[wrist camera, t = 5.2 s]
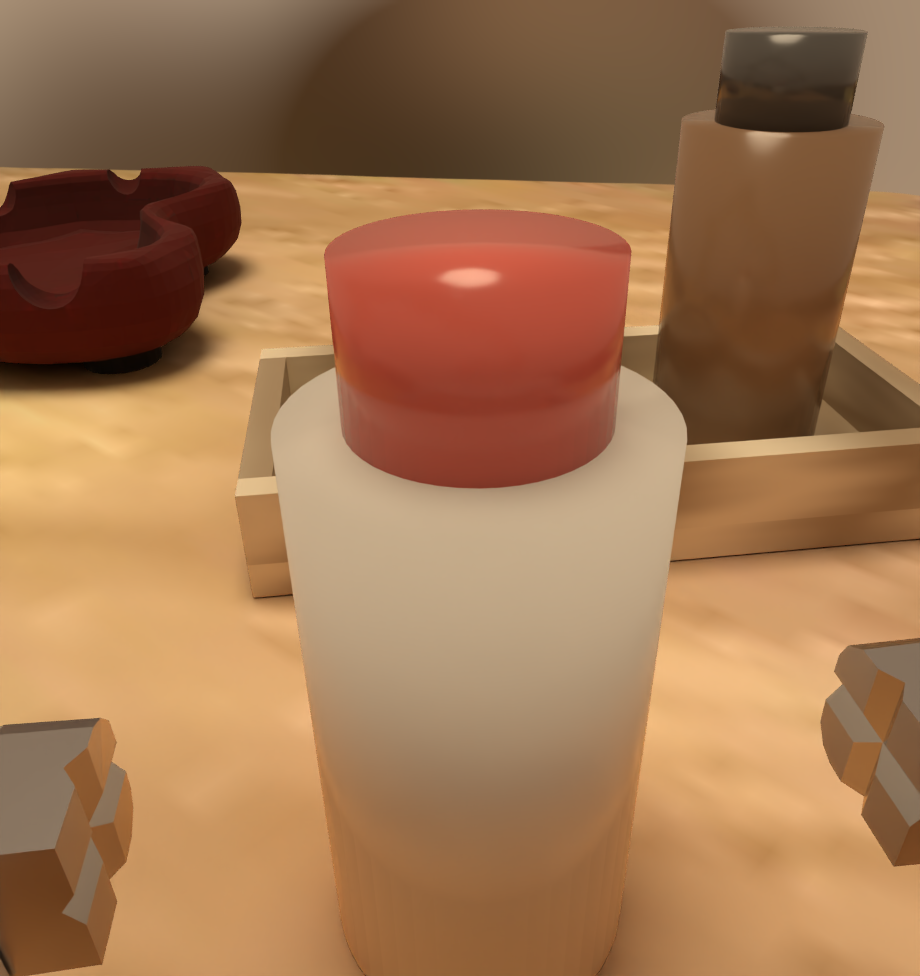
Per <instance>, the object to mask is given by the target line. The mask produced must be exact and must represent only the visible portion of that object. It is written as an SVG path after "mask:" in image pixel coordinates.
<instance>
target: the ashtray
mask: <svg viewBox="0 0 920 976" xmlns="http://www.w3.org/2000/svg"><path fill="white" fill-rule="evenodd" d="M240 227H241V211H240V204H239V200H238V197H237V193H236V190H235V188H234V187H233V185H232V183H231V182H230V181H229V180H227V179H225V178H223V177H222V176H221V175H220V174H219V173H217V172H216V171H214V170H212V169H211V168H209V167H203V166H186V167H167V168H149V169H148V168H146V169H141V173H140V175H139V176H138V177H137V178H136V179H133V180H124V179H122V178H120V177H118V176H117V175H115V173H113V172H112V171H110V170H70V171H64V172H59V173H54V174H49V175H44V176H40V177H35V178H29V179H24V180H19V181H14V182H11V183H10V185H9V189H8V193H7V196H6V199H5V202H4V204H3V205H2V206H1V207H0V362H10V363H27V364H57V363H74V362H83V364H84V366H85V368H86V369H87V370H89V371H91V372H95V373H100V374H119V373H128V372H132V371H137V370H140V369H143V368H146V367H149V366H151V365H152V364H154V363H156V362H157V361H158V360H159V359H160V358H161V357H162V350H161V346H164V345H165V344H167V343H168V342H170V341H172V340H174V339H175V338H177V337H179V336H180V335H181V334H182V333H184V332H185V331H186V330H187V329H188V328H189V327H190V326H191V324H192V323H193V322H194V321H195V319H196V318H197V317H198V313H199V310H200V306H201V303H202V299H203V295H204V275H206V274H207V273H208V265H210V264H212V263H214V262H216V261H217V260H218V259H219V258H221V257H222V256H223V255H224V254H225V253H226V252H227V251H228V250H229V249H230V248H231V247H232V245H233V244H234V243H235V241H236V240H237V239H238V235H239V231H240Z"/></svg>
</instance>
